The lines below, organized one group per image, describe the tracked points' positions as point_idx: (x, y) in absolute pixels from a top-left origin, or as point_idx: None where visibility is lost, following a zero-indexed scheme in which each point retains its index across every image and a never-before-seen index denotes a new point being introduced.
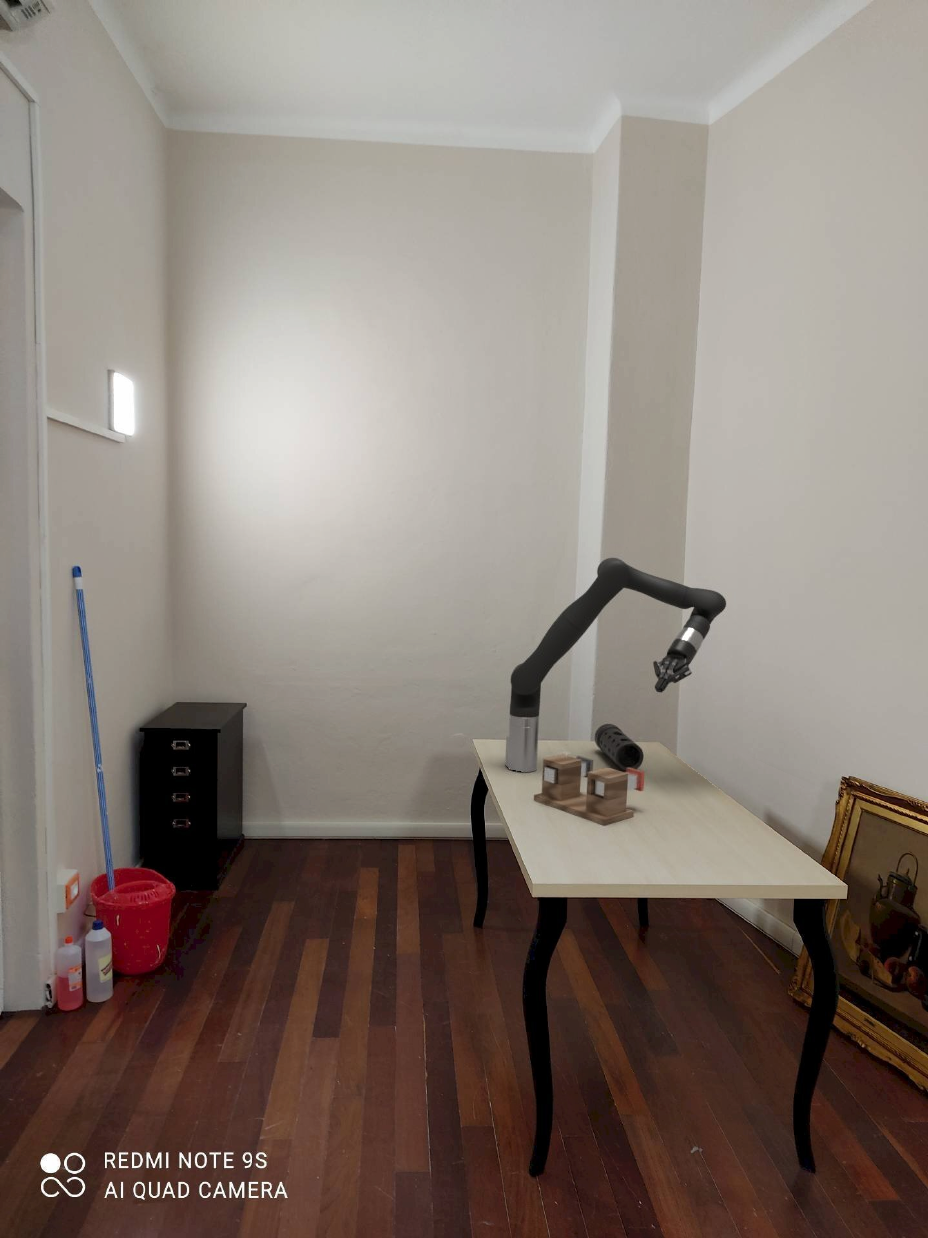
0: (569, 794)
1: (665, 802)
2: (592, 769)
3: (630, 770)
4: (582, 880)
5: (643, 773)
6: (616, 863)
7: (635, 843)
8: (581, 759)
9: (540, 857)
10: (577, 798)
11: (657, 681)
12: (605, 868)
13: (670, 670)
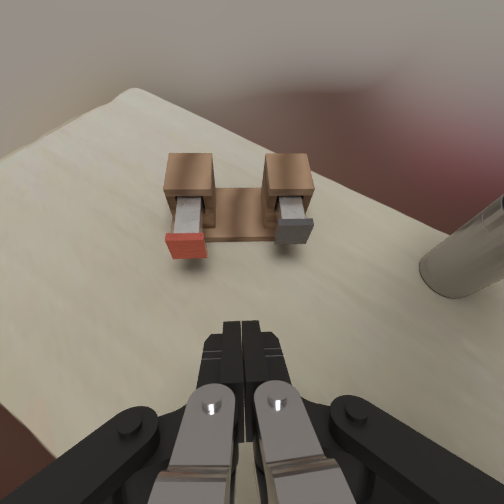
0: (262, 205)
1: (176, 340)
2: (276, 235)
3: (193, 234)
4: (111, 103)
5: (166, 239)
6: (106, 137)
7: (118, 180)
8: (299, 220)
9: (167, 109)
10: (256, 217)
11: (284, 365)
12: (109, 126)
13: (164, 483)
